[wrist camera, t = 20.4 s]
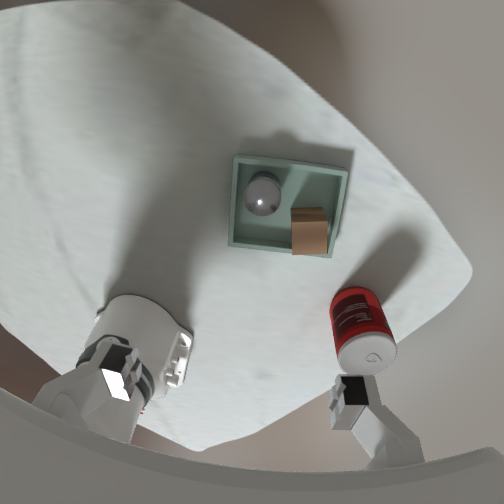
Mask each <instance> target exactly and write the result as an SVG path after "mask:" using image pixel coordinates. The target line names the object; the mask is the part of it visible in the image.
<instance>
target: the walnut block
mask: <svg viewBox="0 0 504 504" xmlns="http://www.w3.org/2000/svg"><path fill="white" fill-rule="evenodd" d="M290 211H291V240H292V255H310V254H327V237H328V221H327V218H326V215H325V213H324V210H323V208H322V207H306V208H290Z"/></svg>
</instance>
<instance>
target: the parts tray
mask: <svg viewBox="0 0 504 504" xmlns="http://www.w3.org/2000/svg"><path fill="white" fill-rule="evenodd" d="M260 171H268V172H271V173H273V174H275V175H276V176H277V177H278V179H279V180H280V183H281V203H280V206H279V207H278V209H277V210H276V211H275V212H274V213H273V214H271V215H268V216H257V215H254V214H252V213H251V212H250V211H249V210H248V209H247V208H246V206H245V204H244V199H243V197H244V192H245V190H246V187H247V185H248V183H249V180H250V178H251V177H252V176H253V175H254V174H256V173H257V172H260ZM347 177H348V171H347V170H346V169H345V168H342V167H336V166H330V165H323V164H316V163H309V162H302V161H294V160H286V159H278V158H269V157H260V156H250V155H238V154H236V155H235V156H234V158H233V171H232V186H231V201H230V216H229V233H228V246H231V247H239V248H248V249H256V250H265V251H273V252H282V253H291V254H292V240H291V211H290V208H306V207H322V208H323V210H324V213H325V215H326V218H327V221H328V237H327V254H310V255H307V256H316V257H324V258H332V253H333V249H334V244H335V239H336V235H337V230H338V225H339V220H340V215H341V210H342V205H343V199H344V194H345V188H346V183H347Z"/></svg>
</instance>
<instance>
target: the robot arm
mask: <svg viewBox="0 0 504 504" xmlns="http://www.w3.org/2000/svg"><path fill="white" fill-rule="evenodd" d="M94 321H95V324H96V325H95V327H94V328H93V330H92V332H91V334H90V336H89V338H88V340H87V341H86V343H85V351H84V352H83V353H82V354H81V356H80V357H79V360H78V362H77V364H76V369H74V370H72V371H70V372H68V373H66V374H64V375H62V376H60V377H58V378H56V379H54V380H52V381H50V382H48V383H46V384H44V385H43V387H42V389H41V390H40V392H39V393H38V395H37V396H36V398H35V399H34V401H33V403H32V404H29V403H27V402H25V401H23V400H22V399H20V398H18V397H16V396H14V395H13V394H11V393H9V392H7V391H5V390H4V389H2V388H0V504H504V455H502V454H501V453H500V452H499V451H497V450H496V449H494V448H493V447H486V448H481V449H478V450H474V451H471V452H468V453H464V454H460V455H456V456H451V457H447V458H443V459H438V460H433V461H428V462H425V460H424V456H423V452H422V448H421V444H420V440H419V438H418V437H417V436H416V435H415V434H414V433H413V432H412V431H411V430H410V429H408V427H407V426H406V425H405V424H404V423H403V422H402V421H401V420H400V419H399V418H398V417H396V416H395V415H394V414H393V413H392V412H391V411H390V410H389V409H388V408H387V407H386V406H385V405H382V404H381V400H380V396H379V392H378V388H377V384H376V380H375V377H374V375H349V374H338V376H337V377H336V379H335V383H336V385H334V386H333V387H332V389H331V391H330V396H329V408H330V409H331V410H332V411H333V412H332V414H331V416H330V420H331V429H333V430H351V432H352V433H353V435H354V436H355V437H356V439H357V440H358V442H359V443H360V444H361V446H362V447H363V448H364V450H365V451H366V452H367V454H368V455H369V456H370V458H371V459H372V460H371V461H370V462H369V463H368V464H367V465H366V467H364V468H363V470H359V471H341V472H340V471H339V472H293V471H274V470H261V469H250V468H242V467H234V466H226V465H220V464H213V463H207V462H201V461H196V460H191V459H186V458H181V457H177V456H172V455H168V454H164V453H160V452H156V451H152V450H148V449H145V448H141V447H138V446H134V445H131V444H130V442H131V438H132V435H133V432H134V429H135V426H136V423H137V420H138V418H139V415H140V414H143V413H142V412H141V410H145V409H144V407H145V406H146V405H147V403H149V402H150V400H151V399H160V398H163V397H165V396H166V394H167V392H168V389H169V388H177V387H181V386H182V384H183V382H184V378H185V373H186V368H187V364H188V359H189V355H190V350H191V346H192V341H193V336H192V335H191V334H190V333H189V332H188V331H187V330H185V329H184V328H182V327H180V326H179V325H178V324H177V323H176V322H175V321H174V319H173V318H172V317H171V316H170V315H169V314H168V313H167V312H166V311H165V310H164V309H163V308H162V307H160V306H159V305H157V304H156V303H154V302H152V301H150V300H148V299H146V298H143V297H140V296H135V295H122V296H118V297H116V298H114V299H113V300H111V301H110V302H109V304H108V305H107V307H106V309H105V310H104V311H102V312H100V313H98V314H97V315H96V317H95V319H94Z"/></svg>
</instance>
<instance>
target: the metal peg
mask: <svg viewBox="0 0 504 504" xmlns="http://www.w3.org/2000/svg"><path fill="white" fill-rule="evenodd" d="M243 199H244V204H245V206H246V208H247V209H248V210H249V211H250V212H251V213H252V214H254V215H257V216H268V215H271V214H273V213H274V212H275V211H276V210H277V209H278V207H279V206H280V203H281V183H280V180H279V179H278V177H277V176H276V175H275V174H273V173H271V172H268V171H260V172H257V173H256V174H254V175H253V176H252V177H251V178H250V180H249V183H248V185H247V187H246V190H245V192H244V197H243Z"/></svg>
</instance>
